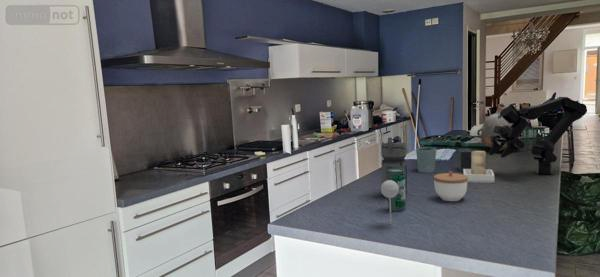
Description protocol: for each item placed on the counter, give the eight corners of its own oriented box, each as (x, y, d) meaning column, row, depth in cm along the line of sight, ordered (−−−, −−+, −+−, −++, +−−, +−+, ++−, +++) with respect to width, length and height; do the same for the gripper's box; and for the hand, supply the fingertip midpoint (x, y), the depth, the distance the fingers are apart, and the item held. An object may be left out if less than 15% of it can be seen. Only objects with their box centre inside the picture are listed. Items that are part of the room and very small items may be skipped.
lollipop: (379, 221, 143) (378, 179, 141) (396, 220, 143) (395, 177, 141) (384, 227, 137) (383, 183, 135) (402, 226, 137) (401, 181, 135)
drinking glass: (415, 172, 214) (414, 149, 212) (417, 168, 223) (417, 146, 222) (435, 173, 210) (435, 150, 208) (437, 169, 219) (437, 147, 218)
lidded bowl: (451, 205, 156) (451, 176, 155) (427, 198, 168) (426, 171, 166) (474, 199, 162) (474, 171, 161) (449, 193, 173) (449, 167, 172)
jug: (484, 154, 253) (484, 105, 249) (475, 149, 274) (475, 103, 270) (527, 153, 248) (528, 103, 245) (515, 148, 269) (515, 101, 266)
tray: (463, 176, 201) (463, 168, 201) (491, 176, 197) (491, 169, 197) (464, 182, 190) (464, 174, 189) (494, 183, 185) (494, 175, 185)
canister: (474, 175, 197) (474, 150, 196) (487, 176, 193) (487, 151, 192) (469, 177, 193) (469, 152, 192) (481, 179, 189) (482, 153, 188)
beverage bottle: (411, 191, 178) (410, 134, 175) (402, 199, 167) (401, 138, 164) (388, 189, 184) (387, 133, 180) (378, 197, 172) (376, 137, 169)
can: (402, 212, 151) (401, 172, 150) (386, 210, 155) (385, 170, 153) (407, 207, 157) (406, 168, 155) (391, 205, 160) (390, 167, 158)
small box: (474, 172, 209) (474, 151, 207) (460, 172, 210) (460, 151, 209) (469, 167, 219) (469, 148, 218) (456, 167, 220) (456, 148, 219)
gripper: (492, 118, 201) (472, 143, 201) (516, 119, 182) (494, 147, 182) (508, 132, 202) (489, 157, 202) (534, 135, 184) (512, 162, 184)
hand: (495, 156), depth 192 cm, fingers open, 9 cm apart
